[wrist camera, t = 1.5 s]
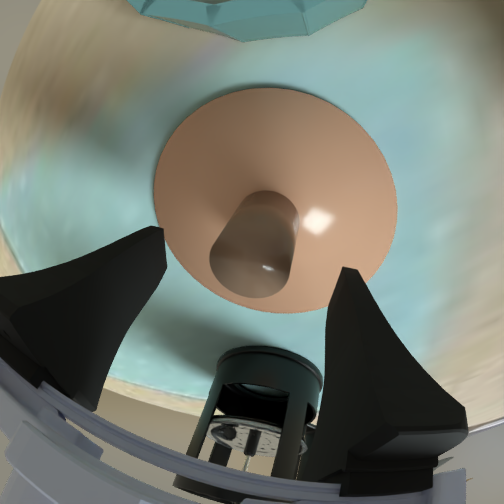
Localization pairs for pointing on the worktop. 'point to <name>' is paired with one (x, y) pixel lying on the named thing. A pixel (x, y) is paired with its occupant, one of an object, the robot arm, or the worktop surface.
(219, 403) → the french press
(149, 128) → the worktop surface
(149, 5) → the bowl
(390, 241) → the lid
